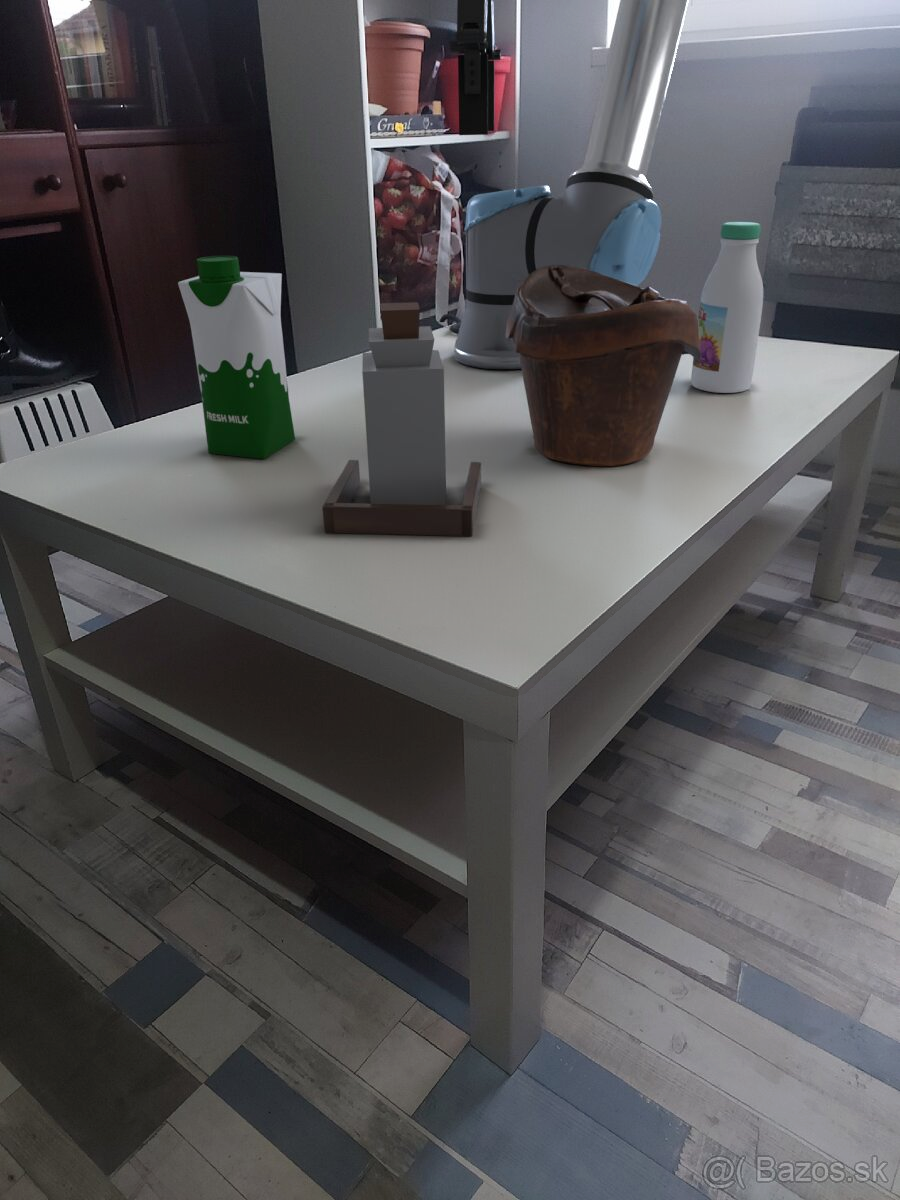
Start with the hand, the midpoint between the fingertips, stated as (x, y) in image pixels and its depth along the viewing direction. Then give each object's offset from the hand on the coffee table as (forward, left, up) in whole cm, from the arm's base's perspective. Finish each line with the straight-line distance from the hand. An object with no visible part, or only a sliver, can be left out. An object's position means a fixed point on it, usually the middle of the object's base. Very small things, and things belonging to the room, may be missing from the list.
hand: (477, 133), depth 90 cm
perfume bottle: (+17, -20, -31) cm, 40 cm away
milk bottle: (+6, +35, -31) cm, 47 cm away
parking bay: (+17, -20, -30) cm, 40 cm away
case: (+15, +5, -31) cm, 34 cm away
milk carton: (-8, -25, -31) cm, 40 cm away
